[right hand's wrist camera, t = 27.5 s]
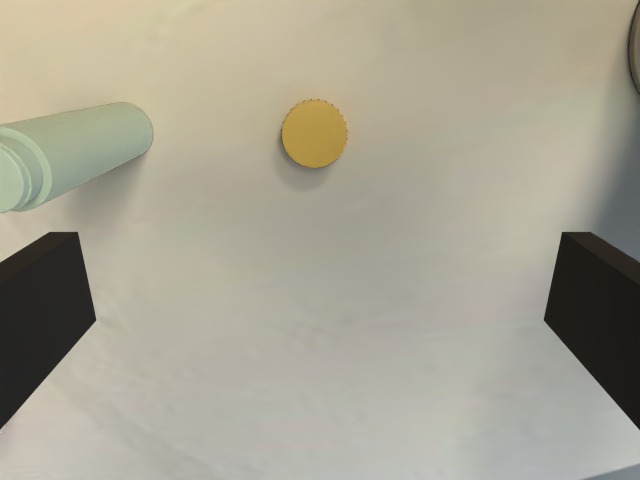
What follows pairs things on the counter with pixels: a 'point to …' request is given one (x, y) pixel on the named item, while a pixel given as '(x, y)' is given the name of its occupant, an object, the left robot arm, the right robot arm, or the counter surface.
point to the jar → (67, 151)
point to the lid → (314, 133)
